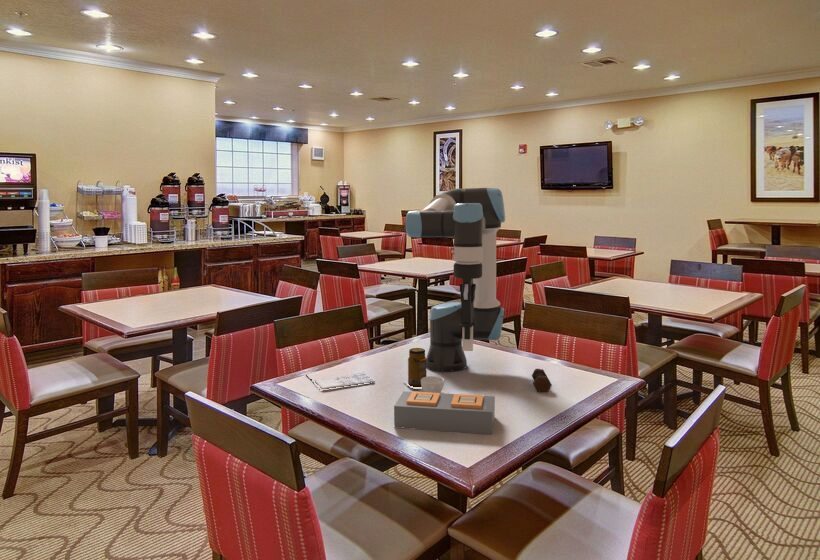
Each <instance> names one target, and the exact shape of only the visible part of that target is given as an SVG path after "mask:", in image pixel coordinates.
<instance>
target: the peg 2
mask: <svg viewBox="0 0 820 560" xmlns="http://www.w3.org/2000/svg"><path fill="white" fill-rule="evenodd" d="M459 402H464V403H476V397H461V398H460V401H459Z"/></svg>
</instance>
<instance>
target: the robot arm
mask: <svg viewBox="0 0 820 560" xmlns="http://www.w3.org/2000/svg"><path fill="white" fill-rule="evenodd" d="M505 213H506V212H505V204H504V197H503V192H502V191H501V189H500V188H497V187H474V188H473V187H472V188H461V187H460V188H454V189H449V190H447V191H443V192H440V193H438V194H437V195H435V196H434V197H433V198H432V199H431V200H430V202H429V204H428V205H427V206H426V207H425V208H423V209H422V210H418V209H416V210H410V211H407V213H406V216H405V224H404V225H405V232H406V235H407V236H408V237H409V238H418V239H420V238H453V249H451V254H453V261H454V262H455V263H453V277H454V278H456V279H462V281H461V282H462V283H460V284H459V292H460V302H457V301H454V302H453V301H452V302H442V303H440V304H436V305H433V306H432V307H431V308H430V312H429V314H430V315H429V326H430V327H429V332H430V333H429V334H430V335H429V336H430V337H429V339H430V341H429V342H430V345H429V347H428V348H429V349H428V350H427V351H428V352H427V355H426V356H425V357H426V363H427V364H426V369H429V370H431V371H437V372H457V371H461V370H464V369H466V368H467V366H468V361H467V357H466V354H465V352H473V351H474V340H477V341H478V340H481V341H487V342H488V341H498V340H499V339H500V338H501V337H502V335H501V334H502V329H503V321H504V316H505V315H504V314H505V308H503V307H501V302H500V300H498V299H497V232H499V230H500V229H501V228H502V223H505V221H506V214H505Z"/></svg>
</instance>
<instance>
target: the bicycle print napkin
mask: <svg viewBox="0 0 820 560" xmlns="http://www.w3.org/2000/svg"><path fill="white" fill-rule="evenodd" d="M342 378H344V379H345V378H346V379H347V378H348V379H350V380H347V381H345V380H344V381H343V380H342V381H336V380H339V379H342ZM314 381H315V383H316V384H317V385H319V386H320V388H321V389H329V388H336V387H344V386H351V385H358V384H364V383H371V382H373V383H375V382H376V380H375V379H373V378H372V377H370V376H369V375H368V374H367V373H366V372H365V371H360V372H359V373H356V374H351V375H346V376H341V377H334V378H324V379H315V380H314Z"/></svg>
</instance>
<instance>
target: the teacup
mask: <svg viewBox="0 0 820 560" xmlns="http://www.w3.org/2000/svg"><path fill="white" fill-rule="evenodd" d="M444 383H445V379H444V378H443V377H441V376H437V375H435V376H434V375H432V376H431V375H430V376H428V375H427V376H426V377H424V378H422V379H421V386H422V389H418V390H417V391H416V392H432V393H444V394H449V391H448V390H447V389H444V386H445V384H444Z"/></svg>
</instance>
